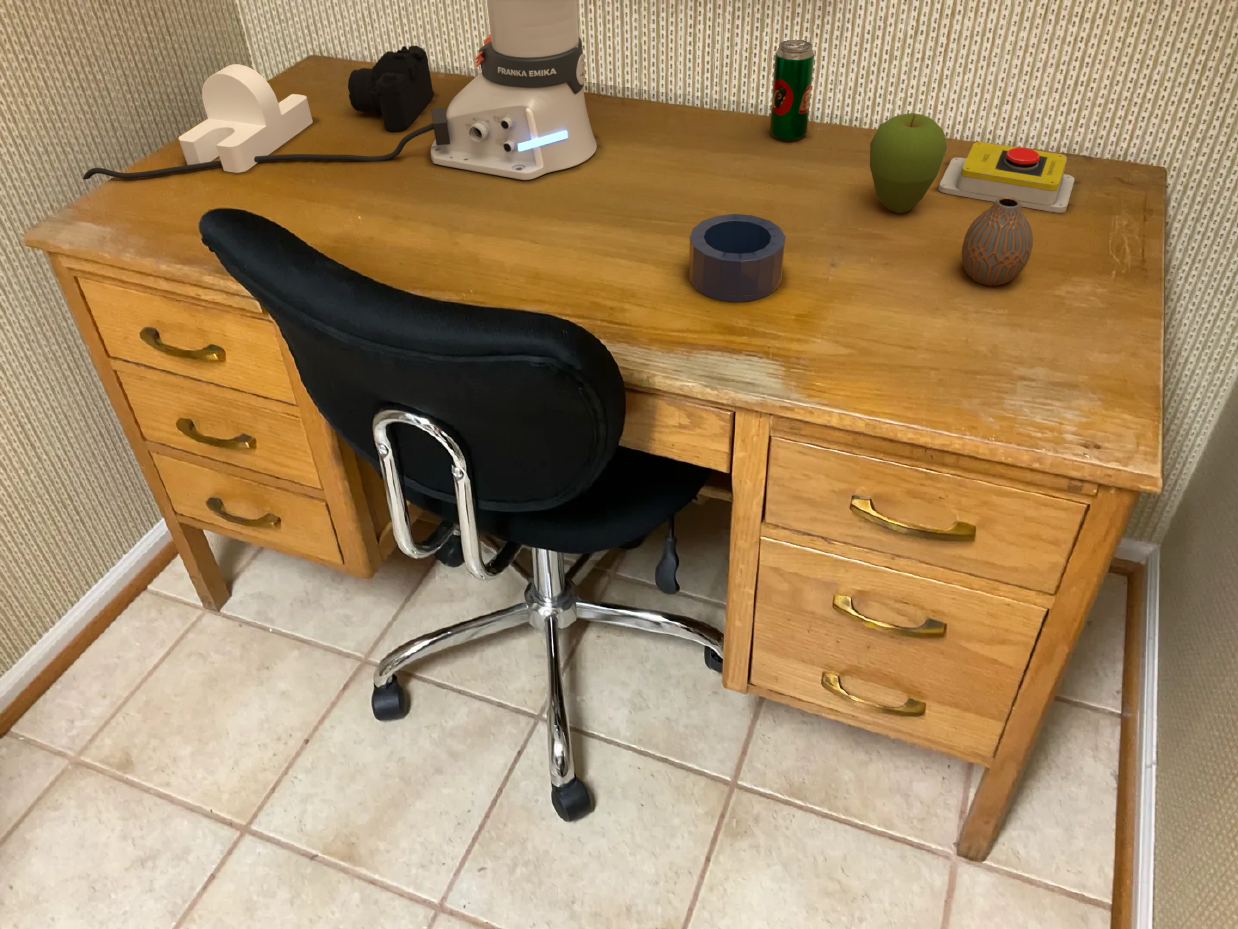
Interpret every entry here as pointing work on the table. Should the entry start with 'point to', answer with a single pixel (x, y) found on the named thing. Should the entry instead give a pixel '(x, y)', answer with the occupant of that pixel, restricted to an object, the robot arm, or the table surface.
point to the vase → (998, 243)
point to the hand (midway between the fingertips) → (800, 49)
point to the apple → (906, 159)
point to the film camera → (393, 87)
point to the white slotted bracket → (242, 120)
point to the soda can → (791, 90)
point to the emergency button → (1010, 176)
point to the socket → (736, 257)
